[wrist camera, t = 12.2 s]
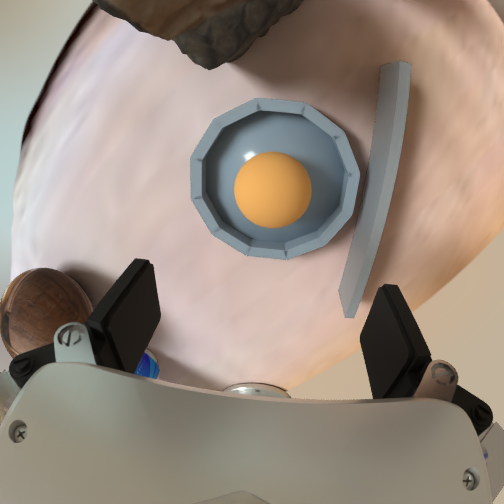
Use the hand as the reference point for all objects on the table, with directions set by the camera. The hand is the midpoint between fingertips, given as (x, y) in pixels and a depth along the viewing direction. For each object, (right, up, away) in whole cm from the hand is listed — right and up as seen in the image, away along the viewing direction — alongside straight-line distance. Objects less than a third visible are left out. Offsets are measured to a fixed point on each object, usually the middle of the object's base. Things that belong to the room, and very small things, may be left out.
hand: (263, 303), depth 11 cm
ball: (+1, +7, +10) cm, 13 cm away
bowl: (+2, +9, +14) cm, 17 cm away
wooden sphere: (-27, -4, +25) cm, 37 cm away
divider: (+11, +8, +13) cm, 19 cm away
